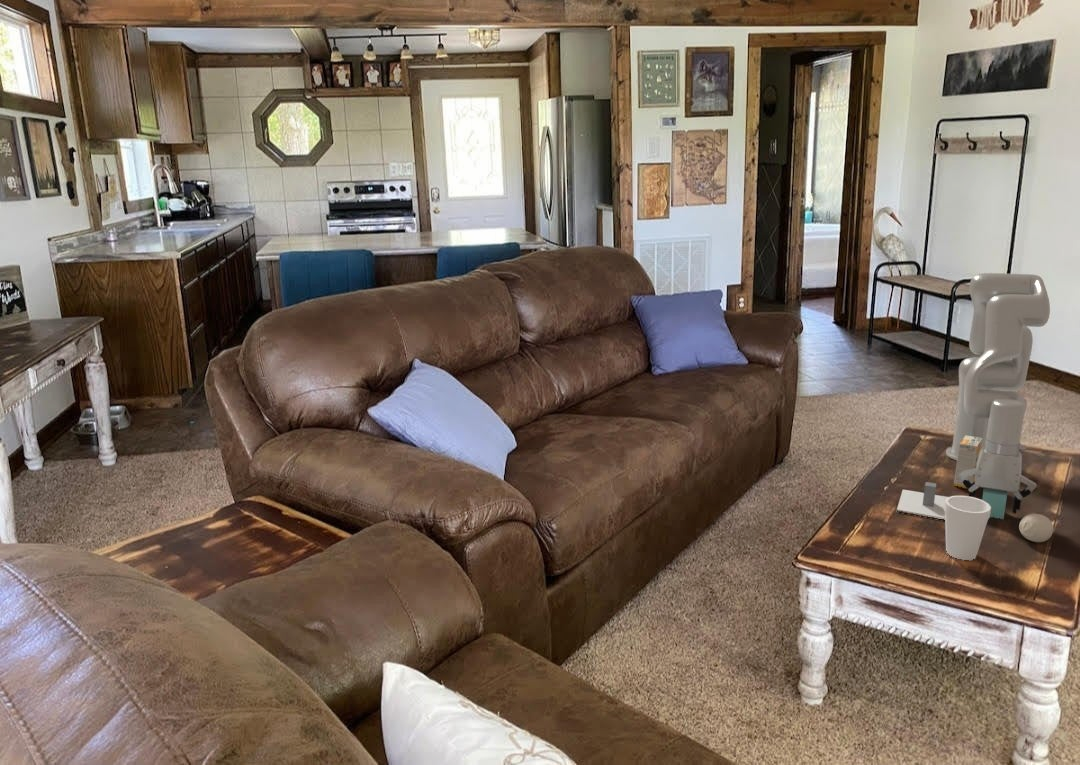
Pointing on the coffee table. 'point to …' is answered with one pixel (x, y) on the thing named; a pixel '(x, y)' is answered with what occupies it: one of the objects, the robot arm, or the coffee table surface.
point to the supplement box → (967, 458)
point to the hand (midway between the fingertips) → (992, 507)
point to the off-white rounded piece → (1036, 527)
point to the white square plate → (923, 502)
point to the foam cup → (965, 525)
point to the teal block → (995, 501)
